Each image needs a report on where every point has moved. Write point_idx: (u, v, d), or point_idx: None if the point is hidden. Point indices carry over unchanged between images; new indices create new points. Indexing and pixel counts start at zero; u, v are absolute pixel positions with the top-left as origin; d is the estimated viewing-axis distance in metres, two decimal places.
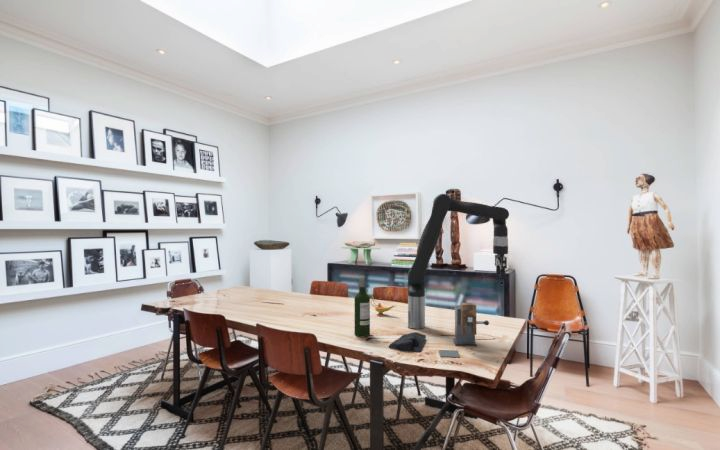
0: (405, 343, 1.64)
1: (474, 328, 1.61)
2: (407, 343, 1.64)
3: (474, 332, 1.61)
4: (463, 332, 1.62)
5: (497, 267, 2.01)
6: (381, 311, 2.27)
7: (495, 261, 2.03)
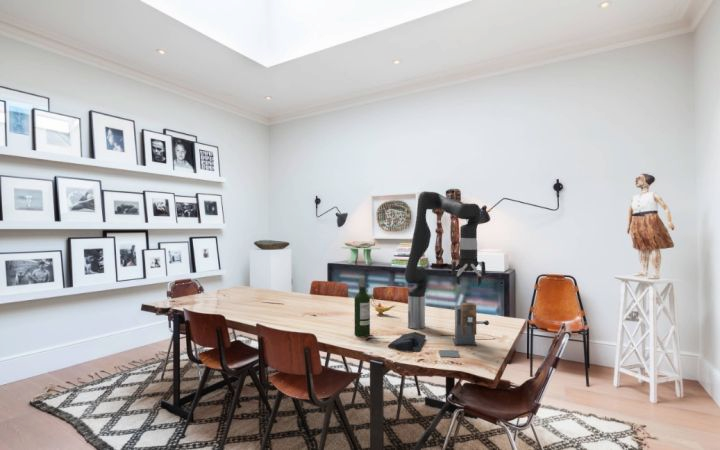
0: (404, 343, 1.64)
1: (474, 328, 1.61)
2: (406, 343, 1.64)
3: (474, 332, 1.61)
4: (463, 332, 1.62)
5: None
6: (381, 311, 2.27)
7: None
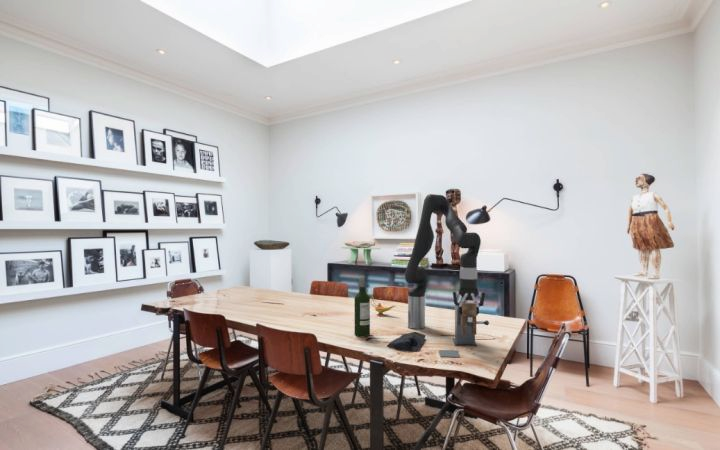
0: (403, 342, 1.65)
1: (474, 328, 1.61)
2: (405, 342, 1.64)
3: (474, 332, 1.61)
4: (463, 332, 1.62)
5: None
6: (381, 311, 2.27)
7: (456, 299, 1.63)
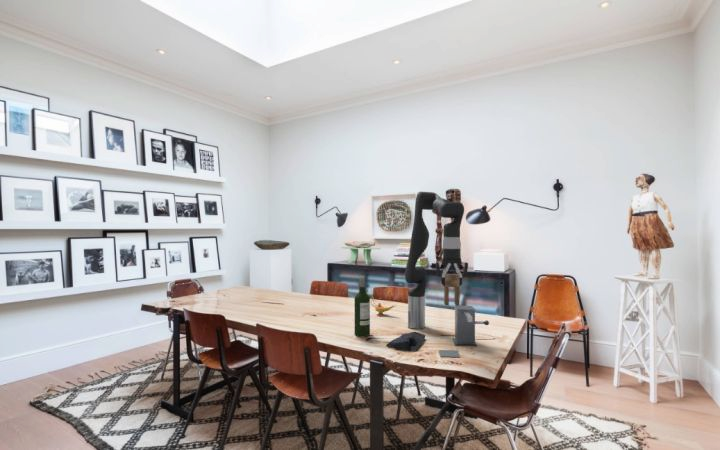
0: (402, 342, 1.65)
1: (457, 299, 1.58)
2: (404, 342, 1.65)
3: (457, 303, 1.58)
4: (446, 303, 1.58)
5: (444, 277, 1.60)
6: (381, 311, 2.27)
7: (439, 270, 1.60)
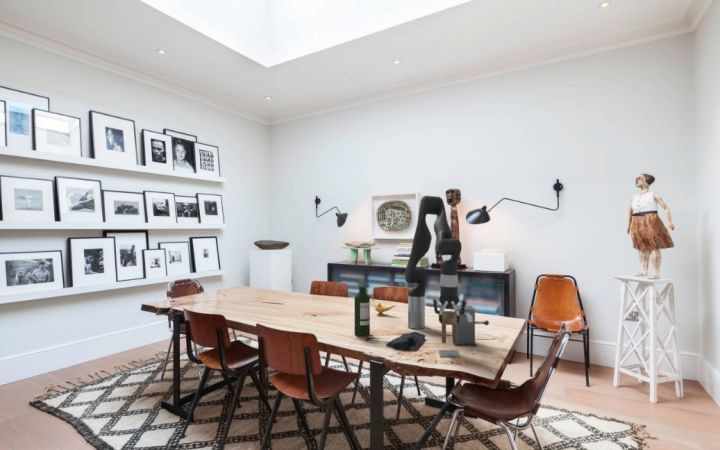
0: (401, 342, 1.66)
1: (454, 337, 1.58)
2: (403, 342, 1.65)
3: (454, 341, 1.58)
4: (443, 341, 1.58)
5: None
6: (381, 311, 2.27)
7: None
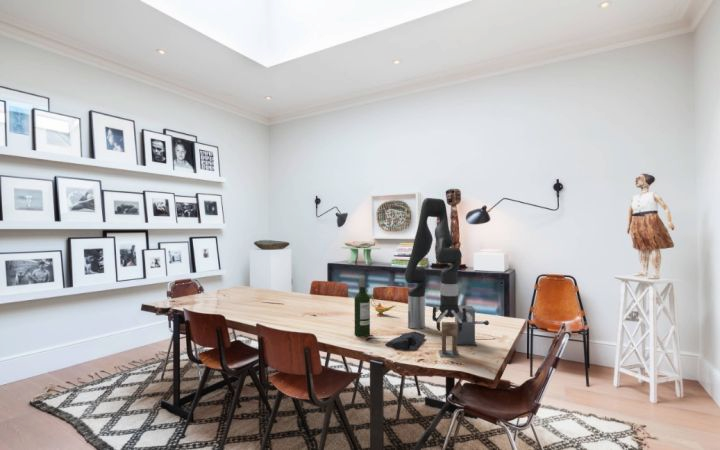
0: (401, 341, 1.66)
1: (454, 348, 1.58)
2: (402, 342, 1.65)
3: (454, 352, 1.58)
4: (443, 353, 1.58)
5: (439, 322, 1.60)
6: (381, 311, 2.27)
7: (435, 315, 1.59)
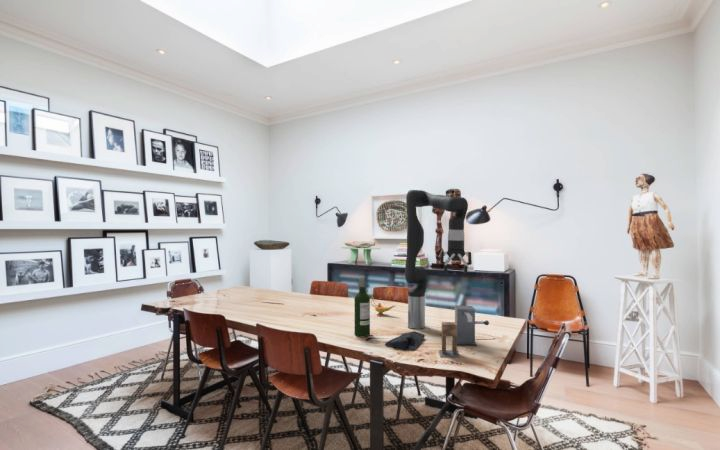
0: (400, 341, 1.66)
1: (454, 348, 1.58)
2: (402, 341, 1.66)
3: (454, 352, 1.58)
4: (443, 353, 1.58)
5: None
6: (381, 311, 2.27)
7: None
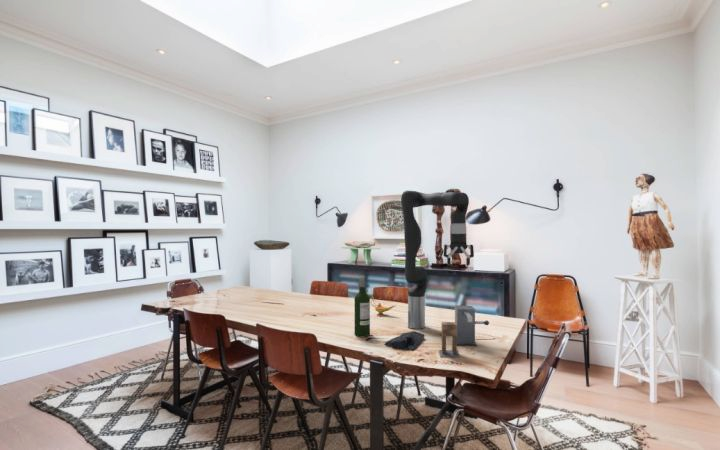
0: (399, 341, 1.67)
1: (454, 348, 1.58)
2: (401, 341, 1.66)
3: (454, 352, 1.58)
4: (443, 353, 1.58)
5: (450, 258, 1.81)
6: (381, 311, 2.27)
7: (446, 252, 1.80)
